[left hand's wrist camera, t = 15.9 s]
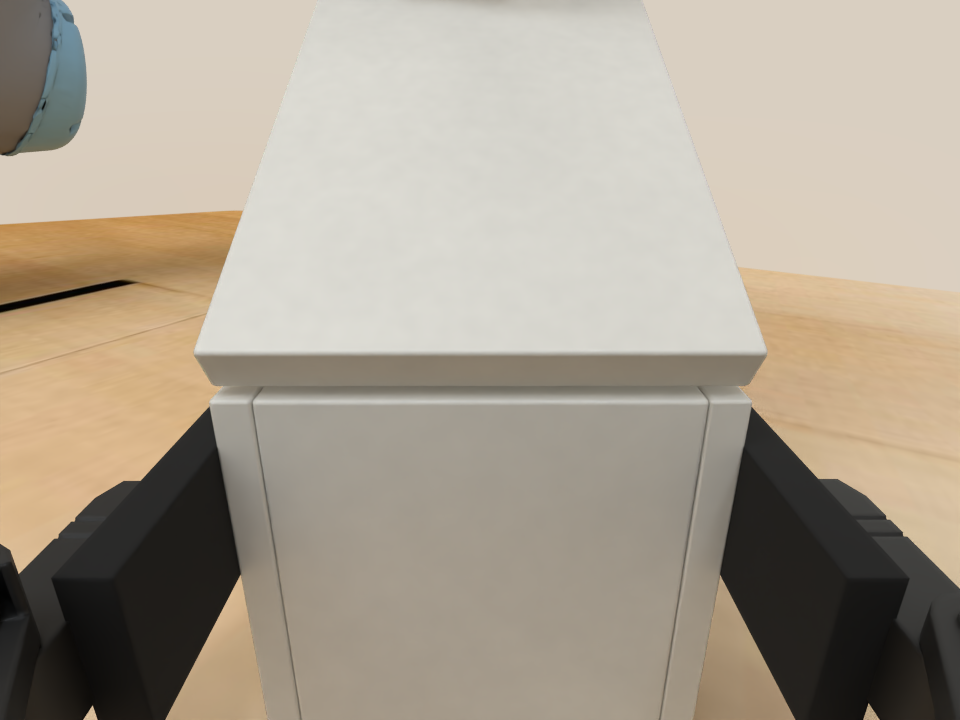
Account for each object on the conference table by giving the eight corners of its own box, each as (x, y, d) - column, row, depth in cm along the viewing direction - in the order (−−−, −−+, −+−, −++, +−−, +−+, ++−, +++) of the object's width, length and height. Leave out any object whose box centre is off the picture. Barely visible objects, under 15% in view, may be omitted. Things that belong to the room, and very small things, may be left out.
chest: (386, 419, 29) (373, 224, 26) (573, 419, 29) (585, 224, 26) (277, 779, 13) (206, 401, 10) (683, 779, 13) (754, 400, 10)
